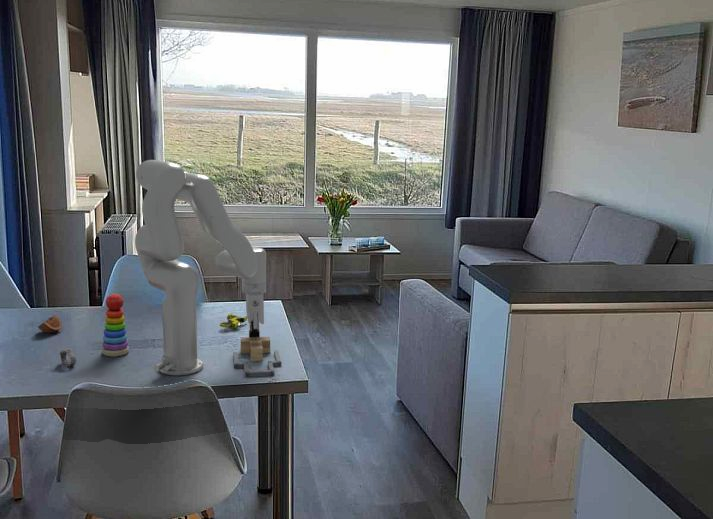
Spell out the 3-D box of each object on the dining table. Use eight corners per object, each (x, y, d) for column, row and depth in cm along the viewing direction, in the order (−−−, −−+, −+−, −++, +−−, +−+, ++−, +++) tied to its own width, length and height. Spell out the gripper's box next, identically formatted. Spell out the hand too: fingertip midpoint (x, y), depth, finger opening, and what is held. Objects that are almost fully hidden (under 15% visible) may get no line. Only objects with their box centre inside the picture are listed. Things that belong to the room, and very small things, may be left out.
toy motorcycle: (228, 310, 245) (248, 312, 245) (228, 320, 246) (247, 322, 245) (218, 320, 234) (238, 322, 233) (218, 331, 235) (238, 333, 234)
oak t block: (240, 349, 217) (240, 337, 217) (269, 348, 219) (269, 336, 218) (241, 361, 207) (241, 349, 207) (271, 360, 209) (271, 347, 208)
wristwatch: (68, 360, 204) (67, 344, 203) (79, 366, 200) (78, 350, 199) (57, 364, 201) (55, 347, 200) (68, 369, 197) (66, 353, 196)
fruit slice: (53, 337, 224) (52, 322, 222) (33, 336, 224) (32, 321, 223) (65, 329, 232) (65, 314, 231) (46, 328, 232) (45, 313, 231)
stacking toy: (100, 358, 207) (97, 298, 202) (103, 349, 214) (100, 291, 210) (128, 356, 209) (126, 297, 205) (129, 347, 216) (127, 290, 212)
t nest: (233, 356, 212) (233, 352, 212) (278, 354, 215) (278, 350, 214) (235, 377, 196) (235, 373, 195) (284, 374, 198) (284, 370, 198)
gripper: (268, 293, 210) (268, 350, 214) (264, 280, 224) (264, 334, 228) (243, 293, 208) (243, 351, 212) (240, 281, 222) (241, 335, 226)
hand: (254, 342), depth 220 cm, fingers closed
